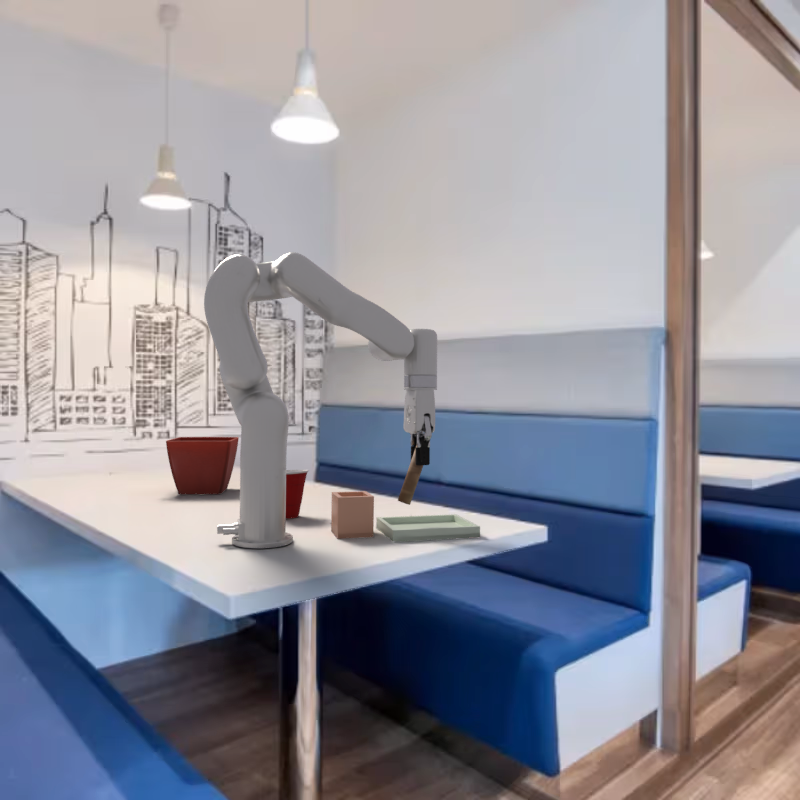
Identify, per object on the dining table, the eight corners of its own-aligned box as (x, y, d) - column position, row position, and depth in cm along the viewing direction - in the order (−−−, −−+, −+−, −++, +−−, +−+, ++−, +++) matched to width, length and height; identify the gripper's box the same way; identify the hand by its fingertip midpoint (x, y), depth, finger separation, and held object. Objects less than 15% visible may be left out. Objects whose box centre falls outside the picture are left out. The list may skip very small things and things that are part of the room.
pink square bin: (337, 538, 143) (338, 497, 143) (331, 531, 151) (331, 492, 151) (373, 537, 146) (373, 496, 146) (365, 529, 153) (365, 491, 153)
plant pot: (178, 487, 215) (179, 436, 215) (238, 487, 217) (239, 436, 217) (164, 497, 196) (164, 440, 196) (230, 496, 198) (230, 440, 198)
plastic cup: (290, 511, 176) (290, 466, 176) (316, 516, 169) (317, 469, 168) (256, 516, 168) (256, 469, 168) (282, 522, 161) (283, 473, 160)
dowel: (399, 506, 148) (399, 443, 147) (396, 504, 151) (395, 441, 150) (431, 504, 150) (431, 442, 150) (427, 502, 153) (427, 441, 152)
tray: (392, 542, 141) (393, 530, 141) (376, 527, 156) (376, 517, 156) (479, 537, 147) (480, 526, 147) (455, 524, 161) (456, 514, 161)
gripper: (395, 383, 157) (394, 460, 157) (415, 383, 141) (414, 468, 142) (425, 384, 159) (424, 460, 159) (448, 383, 143) (447, 467, 144)
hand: (420, 463), depth 150 cm, fingers closed on dowel, 3 cm apart
